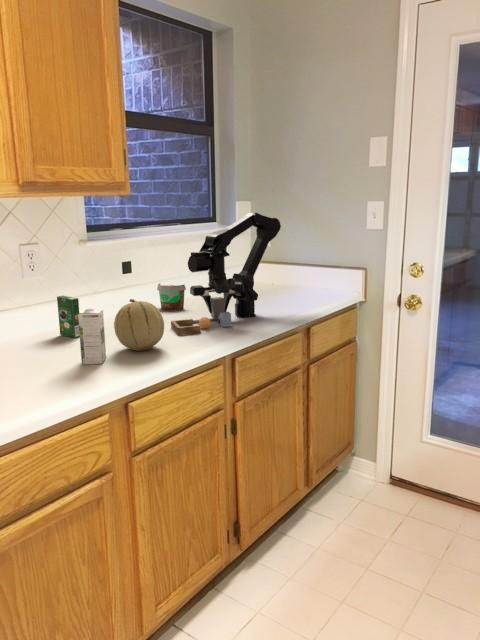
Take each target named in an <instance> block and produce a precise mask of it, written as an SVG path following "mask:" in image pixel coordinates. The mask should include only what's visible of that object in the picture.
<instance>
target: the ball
mask: <svg viewBox="0 0 480 640" xmlns="http://www.w3.org/2000/svg"><path fill="white" fill-rule="evenodd" d="M198 320H199V319H198ZM211 323H212V322H210V317H207V316H203V317H201V318H200V320H199V323H198V325H200V327H201V329H205V330H206V329H208V328H209V327H210V326H211Z"/></svg>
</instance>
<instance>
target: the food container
mask: <svg viewBox="0 0 480 640" xmlns="http://www.w3.org/2000/svg"><path fill="white" fill-rule="evenodd" d="M156 287H157V288H156V290H157V291H158V293H159V294H158V295H159V300H160V307H161V310H162V311H168V312H169V311H181V310H184V308H185V307H184V306H185V291H186V290H187V289H186V288H187V287H186V285H185V283H184V284H179V285H174V284H170V285H169V284H167V285H161V282H159V283H158V284H157V286H156Z"/></svg>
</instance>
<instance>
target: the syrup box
mask: <svg viewBox="0 0 480 640" xmlns="http://www.w3.org/2000/svg"><path fill="white" fill-rule="evenodd" d="M78 319H79V333H80V337H79V342H80V345H79V347H80V356H81V365H82V366H83V365H84V366H85V365H103V364H104V362H105V360H106V358H107V353H106V352H107V351H106V336H105V335H106V334H105V321H104V320H105V319H104V309H103V308H92V307H91V308H84V309H83V308H82V310H81V311H79V314H78Z"/></svg>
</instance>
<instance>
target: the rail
mask: <svg viewBox="0 0 480 640" xmlns="http://www.w3.org/2000/svg"><path fill="white" fill-rule="evenodd" d="M200 319H201V318H200ZM200 319H193V325H195V324H196V325H197V324H199V320H200ZM209 319H210V322H211V323H213V322H215V323H216V322H220V319H214V318H212V317H211V318H210V317H209Z"/></svg>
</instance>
